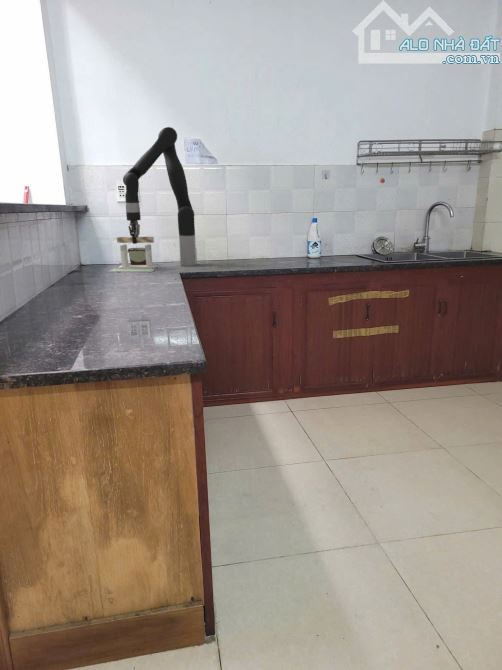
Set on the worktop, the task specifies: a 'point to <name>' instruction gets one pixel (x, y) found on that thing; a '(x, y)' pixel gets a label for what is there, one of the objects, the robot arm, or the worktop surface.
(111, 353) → the worktop surface
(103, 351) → the worktop surface
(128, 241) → the rail
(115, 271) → the mat
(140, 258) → the food container
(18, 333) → the worktop surface
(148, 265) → the rack
